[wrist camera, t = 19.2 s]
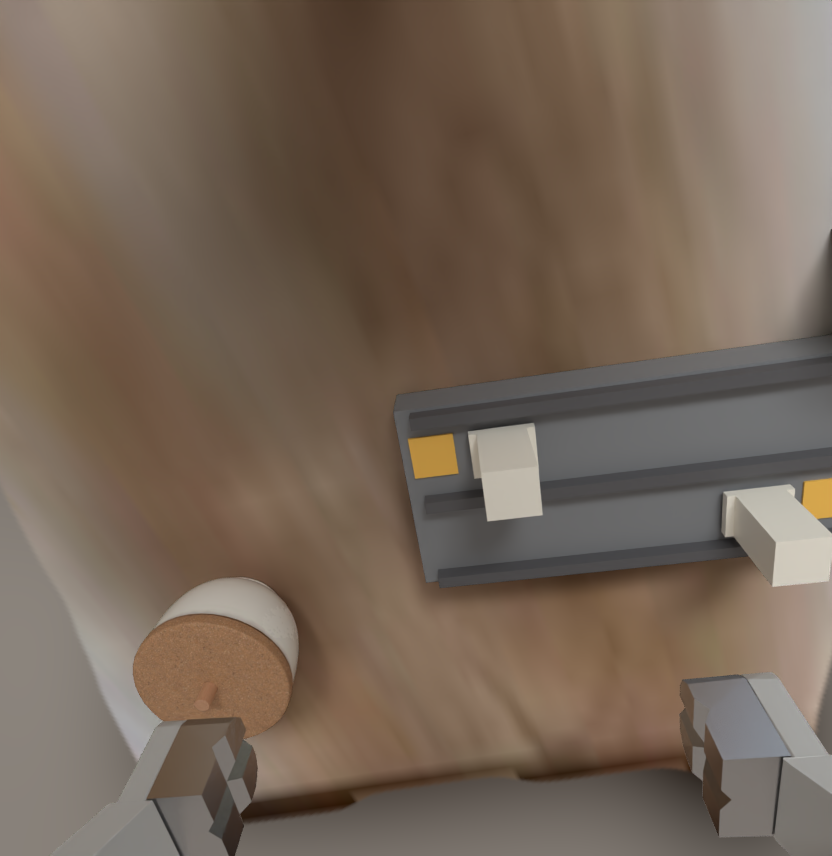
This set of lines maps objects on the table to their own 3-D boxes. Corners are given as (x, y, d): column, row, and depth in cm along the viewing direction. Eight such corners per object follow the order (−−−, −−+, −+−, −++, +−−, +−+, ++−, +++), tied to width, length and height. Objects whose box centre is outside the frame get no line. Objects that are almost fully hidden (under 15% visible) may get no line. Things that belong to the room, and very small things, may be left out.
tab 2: (723, 492, 38) (766, 543, 33) (790, 484, 37) (844, 535, 32) (721, 531, 39) (762, 587, 34) (786, 524, 39) (838, 580, 33)
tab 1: (468, 431, 37) (471, 474, 32) (533, 422, 37) (547, 465, 31) (473, 474, 38) (478, 522, 33) (537, 466, 38) (552, 514, 33)
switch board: (396, 394, 40) (391, 418, 36) (847, 332, 37) (892, 350, 33) (427, 556, 45) (425, 591, 41) (825, 513, 42) (862, 547, 38)
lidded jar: (244, 527, 45) (197, 614, 36) (341, 619, 48) (318, 719, 39) (150, 597, 48) (85, 692, 39) (246, 679, 51) (206, 784, 42)
